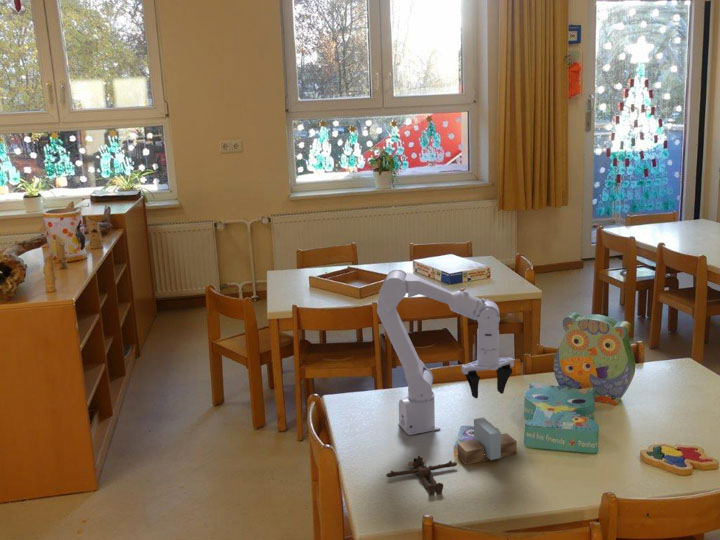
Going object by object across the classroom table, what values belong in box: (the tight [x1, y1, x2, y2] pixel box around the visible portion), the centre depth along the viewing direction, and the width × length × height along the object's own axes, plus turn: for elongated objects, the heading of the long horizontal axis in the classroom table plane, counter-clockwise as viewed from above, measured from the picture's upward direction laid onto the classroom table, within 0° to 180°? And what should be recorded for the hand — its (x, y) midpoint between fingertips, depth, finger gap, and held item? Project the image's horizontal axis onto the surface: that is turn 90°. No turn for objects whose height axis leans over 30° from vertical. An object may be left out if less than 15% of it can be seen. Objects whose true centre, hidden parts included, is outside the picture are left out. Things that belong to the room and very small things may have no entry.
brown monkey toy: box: [386, 455, 458, 496], centre depth 180 cm, size 18×4×14 cm
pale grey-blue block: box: [473, 417, 502, 461], centre depth 190 cm, size 3×9×7 cm, turn 18°
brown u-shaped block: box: [456, 432, 518, 465], centre depth 191 cm, size 14×5×4 cm, turn 108°
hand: (487, 394), depth 203 cm, fingers open, 7 cm apart
